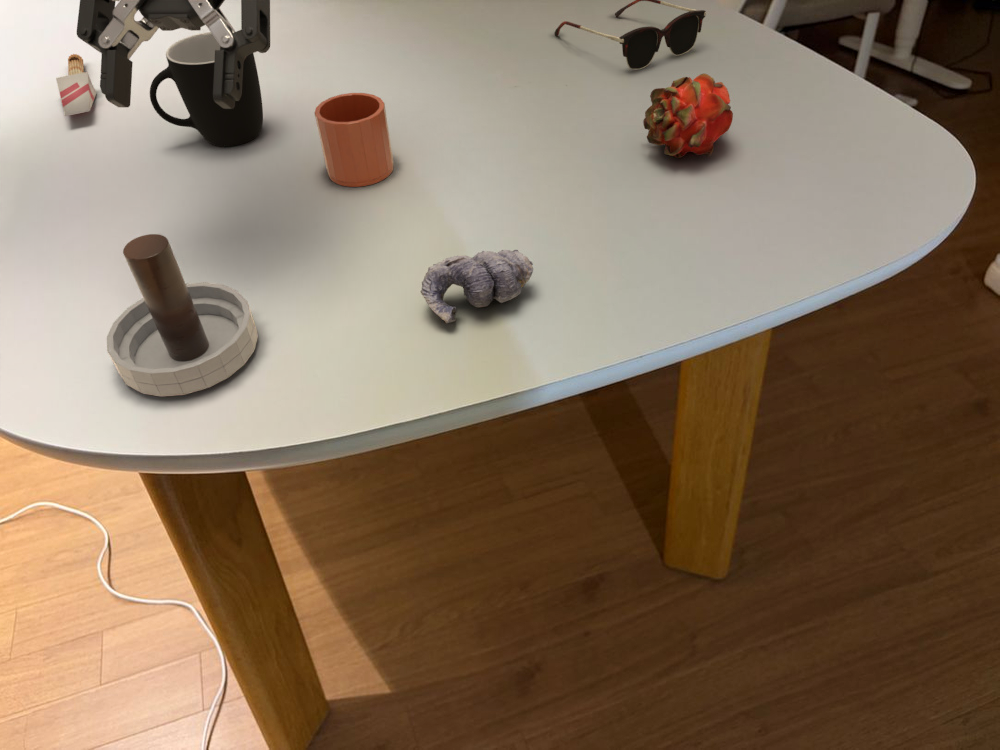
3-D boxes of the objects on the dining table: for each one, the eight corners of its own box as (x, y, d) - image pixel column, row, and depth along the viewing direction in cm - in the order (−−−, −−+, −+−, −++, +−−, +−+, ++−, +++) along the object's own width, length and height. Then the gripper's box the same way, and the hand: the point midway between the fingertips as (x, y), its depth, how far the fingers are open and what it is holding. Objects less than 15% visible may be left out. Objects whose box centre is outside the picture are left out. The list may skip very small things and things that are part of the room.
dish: (103, 405, 62) (87, 377, 59) (141, 315, 69) (129, 287, 67) (246, 395, 62) (235, 367, 60) (268, 305, 70) (259, 278, 67)
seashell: (431, 335, 68) (533, 298, 71) (445, 318, 62) (554, 279, 66) (407, 278, 68) (509, 244, 71) (418, 256, 63) (528, 220, 66)
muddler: (164, 363, 64) (117, 260, 57) (174, 336, 66) (129, 235, 59) (204, 360, 64) (162, 257, 57) (212, 334, 66) (172, 232, 59)
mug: (267, 110, 97) (244, 25, 90) (278, 142, 91) (255, 54, 84) (165, 130, 95) (134, 44, 88) (170, 165, 89) (136, 75, 82)
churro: (54, 105, 94) (57, 52, 108) (64, 127, 96) (65, 73, 110) (89, 98, 95) (87, 47, 109) (98, 120, 96) (95, 67, 111)
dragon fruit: (647, 186, 84) (697, 153, 91) (717, 157, 77) (765, 125, 85) (614, 109, 82) (668, 83, 90) (683, 73, 76) (735, 48, 83)
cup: (325, 189, 83) (310, 126, 78) (331, 155, 88) (318, 94, 84) (392, 184, 83) (382, 121, 78) (394, 151, 88) (385, 90, 84)
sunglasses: (621, 76, 99) (622, 35, 96) (546, 45, 110) (544, 7, 107) (703, 48, 104) (707, 7, 101) (624, 20, 115) (624, -17, 112)
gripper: (62, -137, 58) (49, 86, 58) (249, -143, 56) (238, 86, 56) (122, -77, 65) (112, 120, 65) (290, -81, 64) (280, 122, 63)
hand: (170, 104), depth 61 cm, fingers open, 8 cm apart
